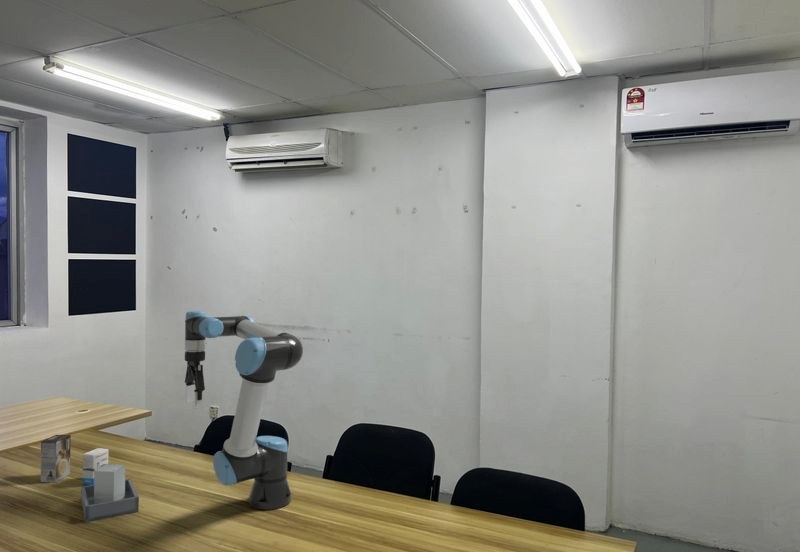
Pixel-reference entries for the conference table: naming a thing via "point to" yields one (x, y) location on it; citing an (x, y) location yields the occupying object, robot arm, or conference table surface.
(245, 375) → the robot arm
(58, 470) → the coffee box
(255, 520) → the conference table surface
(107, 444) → the conference table surface
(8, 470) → the conference table surface
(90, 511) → the tote
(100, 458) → the ink box
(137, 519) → the conference table surface
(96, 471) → the supplement box
